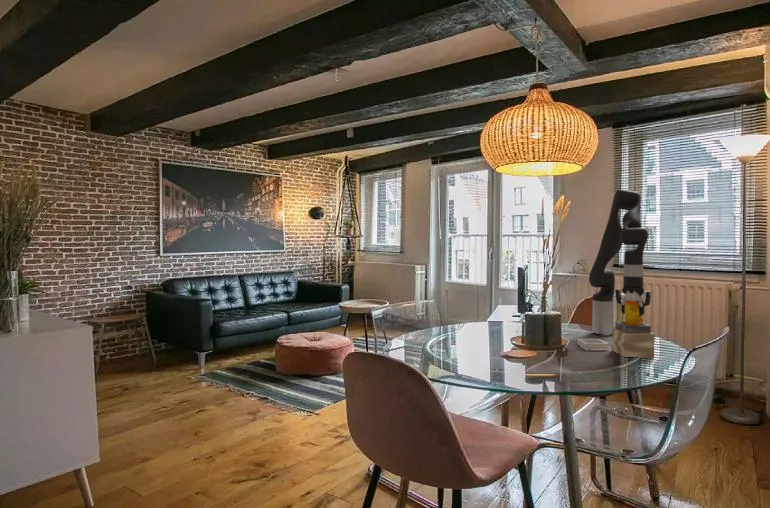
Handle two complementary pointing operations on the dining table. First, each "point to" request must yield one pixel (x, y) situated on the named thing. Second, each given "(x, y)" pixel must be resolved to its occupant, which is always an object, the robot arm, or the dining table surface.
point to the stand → (633, 340)
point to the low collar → (593, 343)
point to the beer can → (632, 310)
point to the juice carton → (617, 311)
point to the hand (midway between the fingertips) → (632, 314)
